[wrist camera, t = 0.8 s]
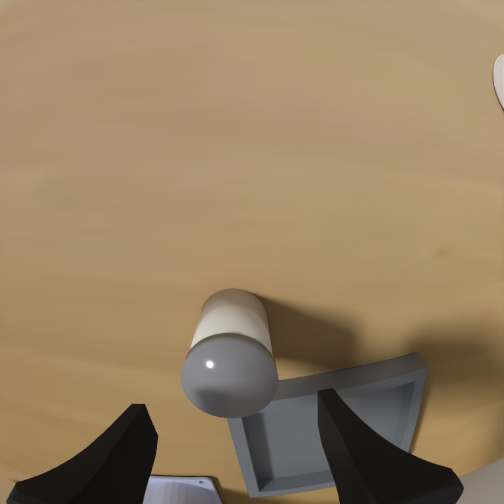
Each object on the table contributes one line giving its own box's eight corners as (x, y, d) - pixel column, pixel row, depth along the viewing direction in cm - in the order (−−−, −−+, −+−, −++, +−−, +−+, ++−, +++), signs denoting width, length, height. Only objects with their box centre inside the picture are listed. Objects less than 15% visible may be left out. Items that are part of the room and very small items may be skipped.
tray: (249, 481, 26) (249, 497, 24) (225, 386, 23) (223, 405, 20) (396, 453, 26) (403, 468, 23) (416, 352, 22) (428, 367, 20)
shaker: (205, 352, 22) (193, 420, 15) (192, 291, 21) (170, 348, 14) (272, 344, 22) (282, 412, 15) (264, 282, 21) (273, 337, 14)
